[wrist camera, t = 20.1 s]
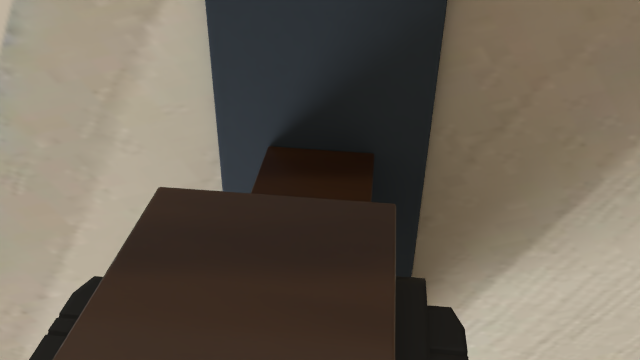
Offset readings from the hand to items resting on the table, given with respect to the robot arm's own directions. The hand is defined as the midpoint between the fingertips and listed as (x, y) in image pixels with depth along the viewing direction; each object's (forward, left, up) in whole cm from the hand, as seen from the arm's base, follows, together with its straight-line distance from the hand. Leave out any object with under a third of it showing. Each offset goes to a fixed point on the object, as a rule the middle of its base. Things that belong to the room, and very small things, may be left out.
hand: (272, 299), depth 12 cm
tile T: (0, 0, -1) cm, 1 cm away
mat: (+6, 0, -14) cm, 15 cm away
